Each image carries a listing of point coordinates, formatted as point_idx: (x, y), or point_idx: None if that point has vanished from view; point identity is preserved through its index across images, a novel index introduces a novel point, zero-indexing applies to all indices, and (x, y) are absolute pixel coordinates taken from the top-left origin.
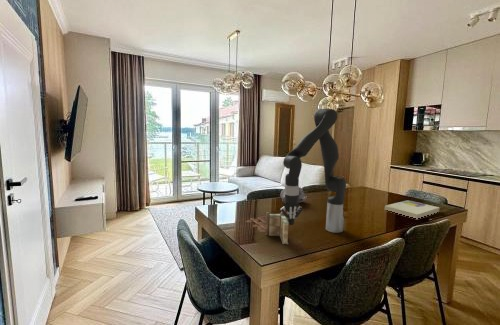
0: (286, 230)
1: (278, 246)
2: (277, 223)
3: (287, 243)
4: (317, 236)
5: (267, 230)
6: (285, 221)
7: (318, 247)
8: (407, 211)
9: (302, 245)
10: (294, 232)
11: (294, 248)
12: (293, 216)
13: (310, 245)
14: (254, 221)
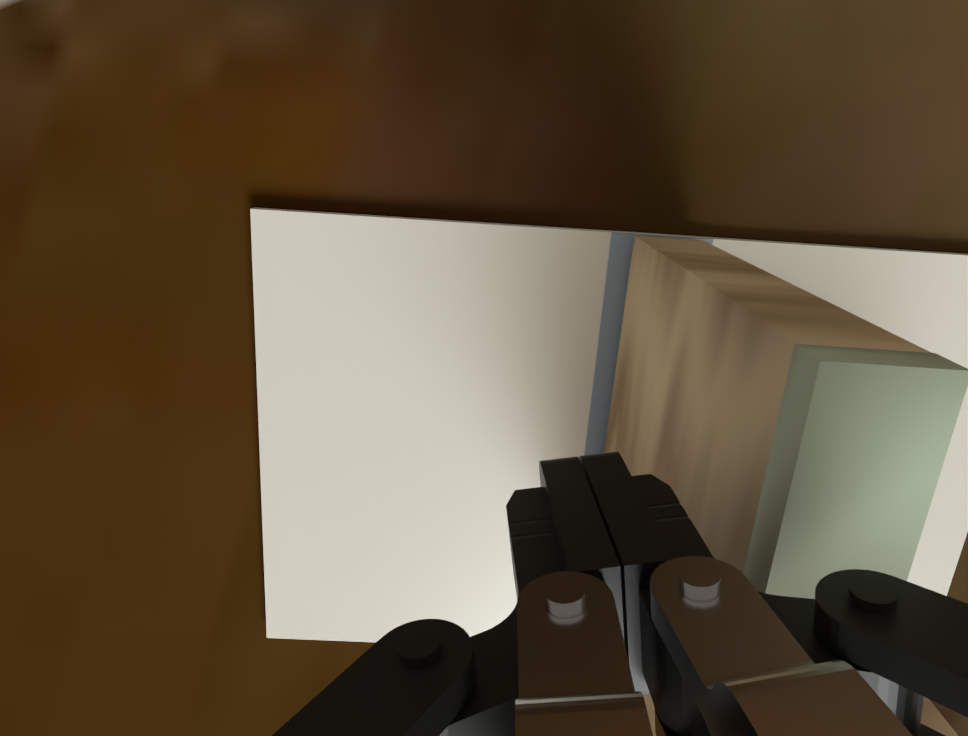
0: (757, 289)
1: (805, 183)
2: None
3: (624, 251)
4: (4, 510)
5: None
6: (896, 443)
7: (81, 83)
8: None
9: (363, 189)
10: None
11: (547, 79)
12: (581, 632)
13: (214, 178)
14: None
